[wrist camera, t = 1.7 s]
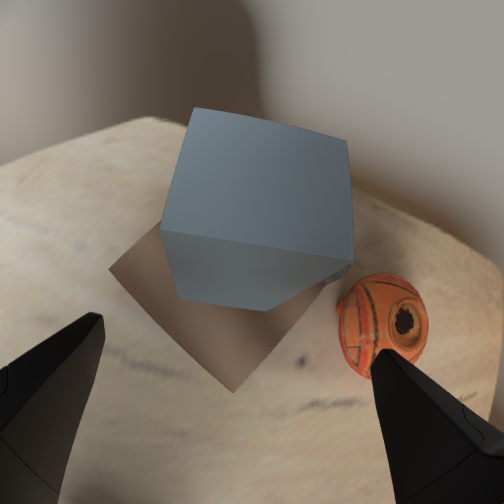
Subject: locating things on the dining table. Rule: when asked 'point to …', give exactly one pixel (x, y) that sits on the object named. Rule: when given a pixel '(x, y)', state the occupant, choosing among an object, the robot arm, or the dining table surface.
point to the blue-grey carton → (256, 211)
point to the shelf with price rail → (208, 314)
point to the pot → (381, 321)
